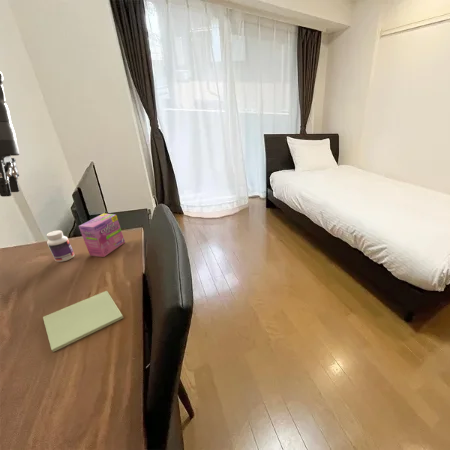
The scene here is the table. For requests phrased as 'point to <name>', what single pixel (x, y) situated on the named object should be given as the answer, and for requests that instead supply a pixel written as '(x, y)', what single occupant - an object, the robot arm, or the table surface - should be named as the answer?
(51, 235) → the pill bottle
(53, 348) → the notepad
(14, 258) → the table surface
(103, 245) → the box
